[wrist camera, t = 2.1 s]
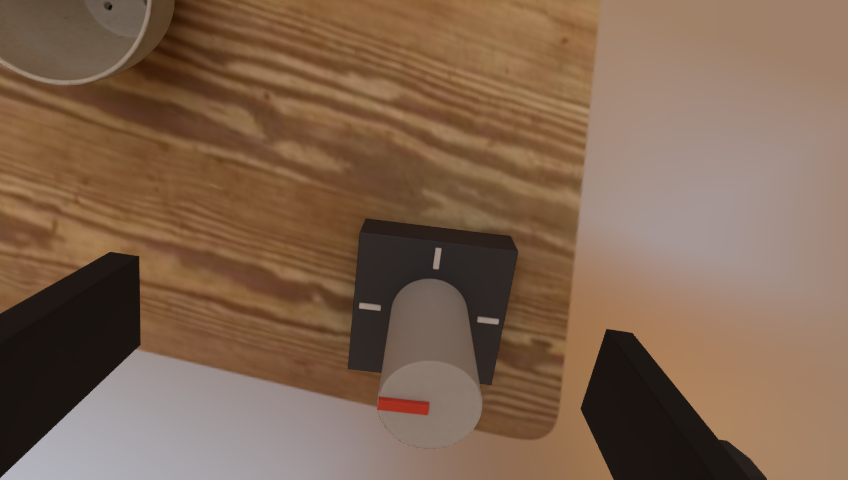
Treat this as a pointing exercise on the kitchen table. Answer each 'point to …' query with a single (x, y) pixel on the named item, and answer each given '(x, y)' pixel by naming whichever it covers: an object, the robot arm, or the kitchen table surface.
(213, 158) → the kitchen table surface
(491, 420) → the kitchen table surface
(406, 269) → the panel
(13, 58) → the flower pot
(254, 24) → the kitchen table surface
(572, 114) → the kitchen table surface
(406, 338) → the timer knob
